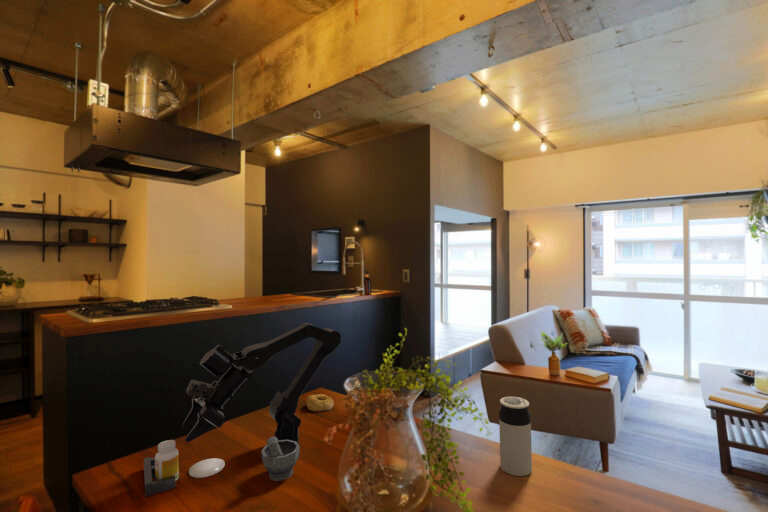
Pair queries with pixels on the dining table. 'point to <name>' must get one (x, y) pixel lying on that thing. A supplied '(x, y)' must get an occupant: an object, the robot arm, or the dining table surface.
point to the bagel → (319, 402)
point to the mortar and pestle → (280, 458)
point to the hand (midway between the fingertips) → (184, 434)
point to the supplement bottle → (166, 460)
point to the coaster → (206, 468)
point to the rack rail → (156, 485)
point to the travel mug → (515, 436)
